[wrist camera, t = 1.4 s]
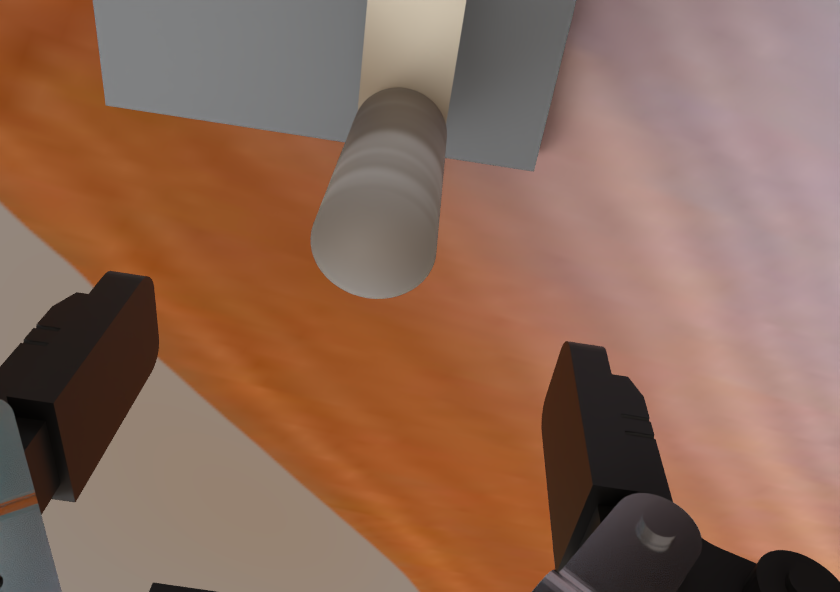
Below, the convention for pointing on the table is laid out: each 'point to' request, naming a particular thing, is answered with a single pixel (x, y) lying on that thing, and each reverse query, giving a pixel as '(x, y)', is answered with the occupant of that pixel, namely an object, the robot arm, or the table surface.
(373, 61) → the lever
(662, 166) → the table surface
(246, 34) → the board
